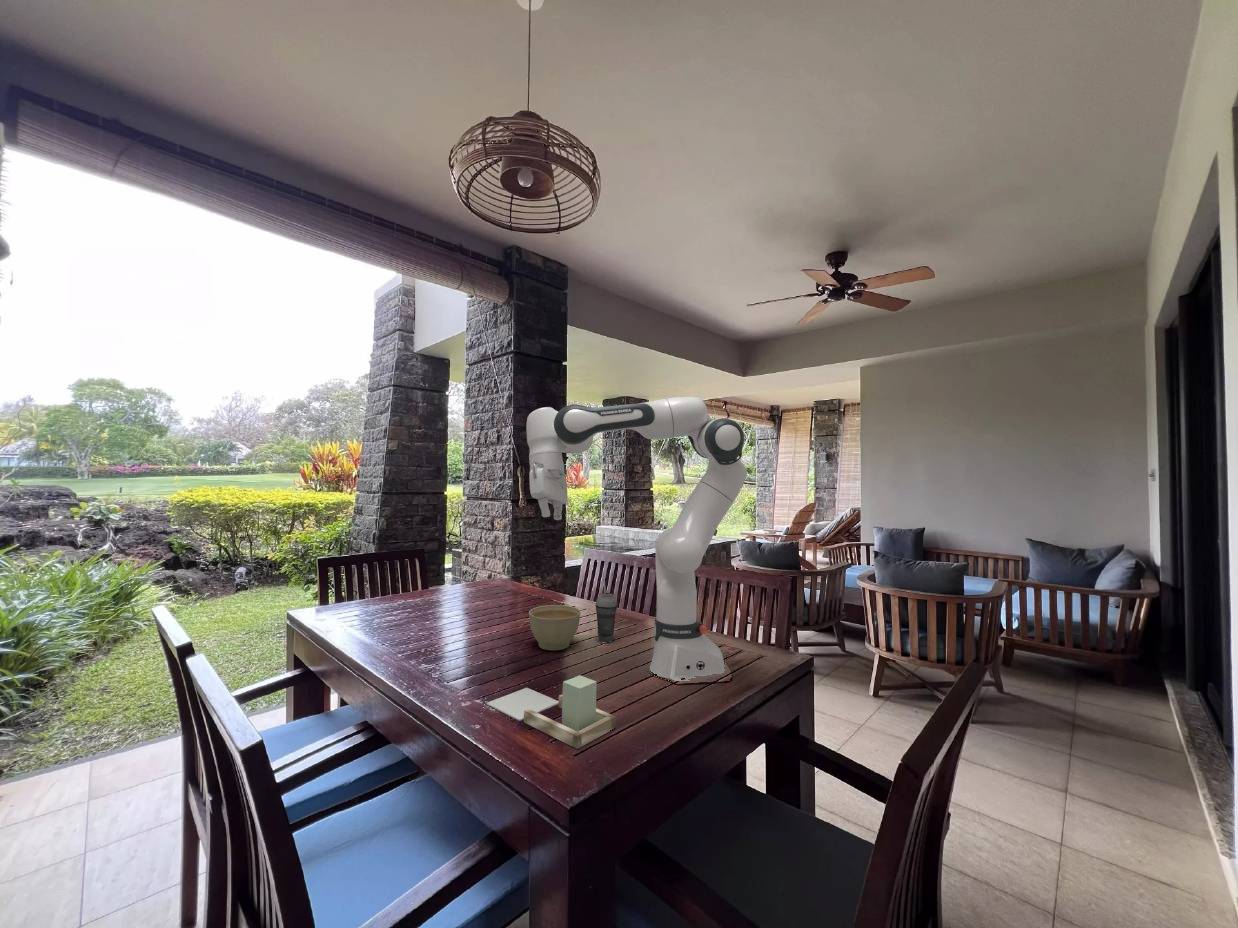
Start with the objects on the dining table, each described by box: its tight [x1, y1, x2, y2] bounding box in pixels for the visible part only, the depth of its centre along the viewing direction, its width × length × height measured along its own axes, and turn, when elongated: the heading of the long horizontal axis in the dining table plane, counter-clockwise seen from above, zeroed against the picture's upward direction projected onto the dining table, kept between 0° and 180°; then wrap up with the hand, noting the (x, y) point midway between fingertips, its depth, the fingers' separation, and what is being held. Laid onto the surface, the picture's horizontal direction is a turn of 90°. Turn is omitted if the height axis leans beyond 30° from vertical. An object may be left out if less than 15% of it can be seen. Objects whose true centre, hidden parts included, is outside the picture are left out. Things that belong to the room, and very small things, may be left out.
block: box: [561, 674, 598, 732], centre depth 107 cm, size 5×5×10 cm
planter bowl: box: [528, 604, 582, 652], centre depth 160 cm, size 16×16×11 cm
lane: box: [523, 693, 616, 750], centre depth 109 cm, size 16×11×2 cm
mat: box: [485, 687, 559, 722], centre depth 119 cm, size 12×12×1 cm
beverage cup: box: [594, 578, 618, 642], centre depth 166 cm, size 7×7×20 cm
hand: (552, 518), depth 134 cm, fingers open, 8 cm apart
